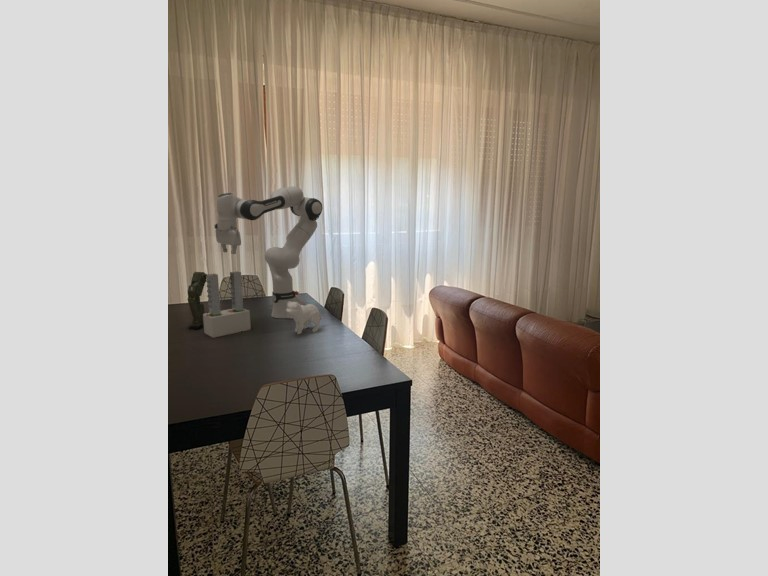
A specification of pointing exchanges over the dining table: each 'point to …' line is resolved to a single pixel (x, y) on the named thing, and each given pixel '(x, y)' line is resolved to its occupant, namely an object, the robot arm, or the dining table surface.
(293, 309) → the white animal figurine
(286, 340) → the dining table surface
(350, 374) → the dining table surface
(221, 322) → the frame
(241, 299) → the column
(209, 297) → the column
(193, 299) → the mechanical leg
